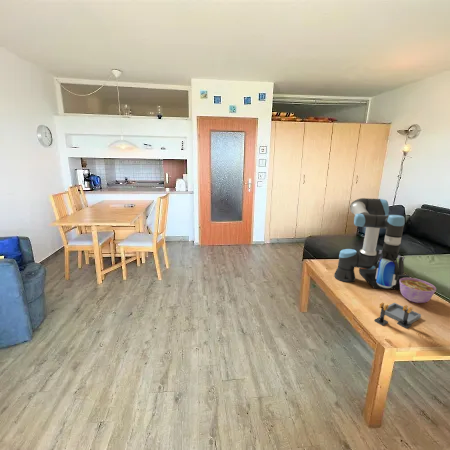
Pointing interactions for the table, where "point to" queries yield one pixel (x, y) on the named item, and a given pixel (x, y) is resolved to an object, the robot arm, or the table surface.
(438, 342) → the table surface
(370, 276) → the video game console
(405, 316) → the clip posts
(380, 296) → the table surface
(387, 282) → the beer can
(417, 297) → the bowl of food
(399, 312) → the tray
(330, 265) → the table surface
